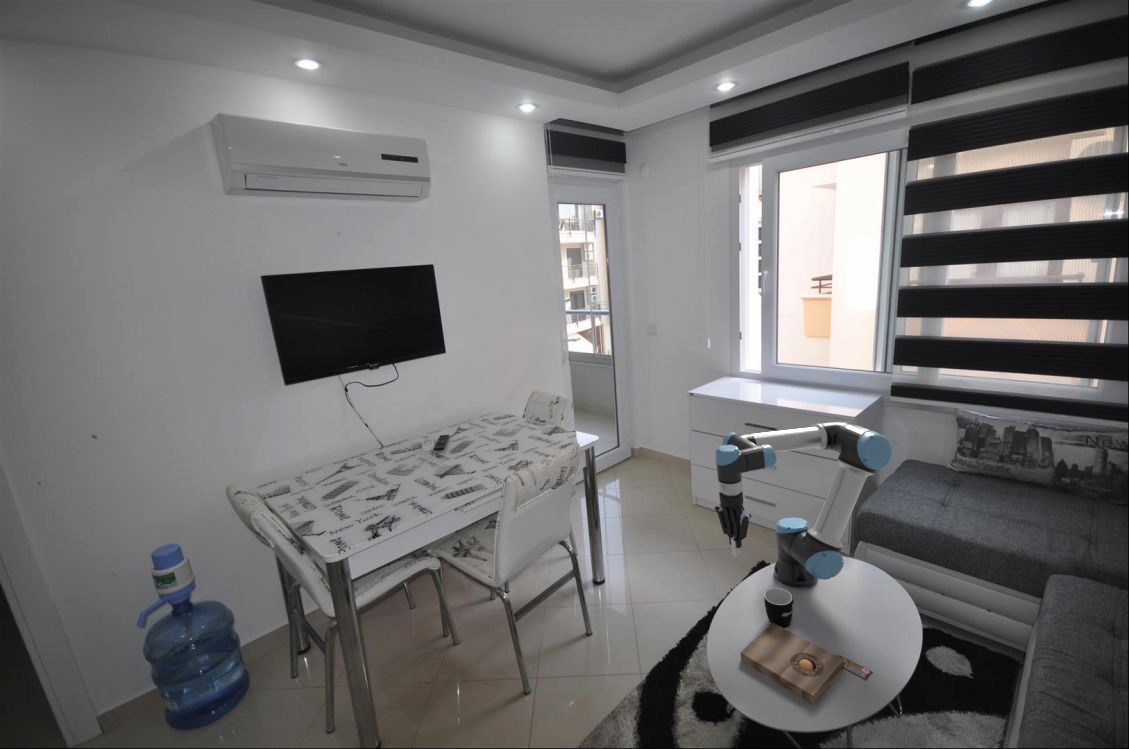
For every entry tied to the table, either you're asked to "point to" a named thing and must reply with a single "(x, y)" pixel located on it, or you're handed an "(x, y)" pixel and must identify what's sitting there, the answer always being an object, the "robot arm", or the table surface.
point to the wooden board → (792, 662)
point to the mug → (779, 606)
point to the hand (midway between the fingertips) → (736, 554)
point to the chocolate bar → (856, 669)
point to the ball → (805, 665)
